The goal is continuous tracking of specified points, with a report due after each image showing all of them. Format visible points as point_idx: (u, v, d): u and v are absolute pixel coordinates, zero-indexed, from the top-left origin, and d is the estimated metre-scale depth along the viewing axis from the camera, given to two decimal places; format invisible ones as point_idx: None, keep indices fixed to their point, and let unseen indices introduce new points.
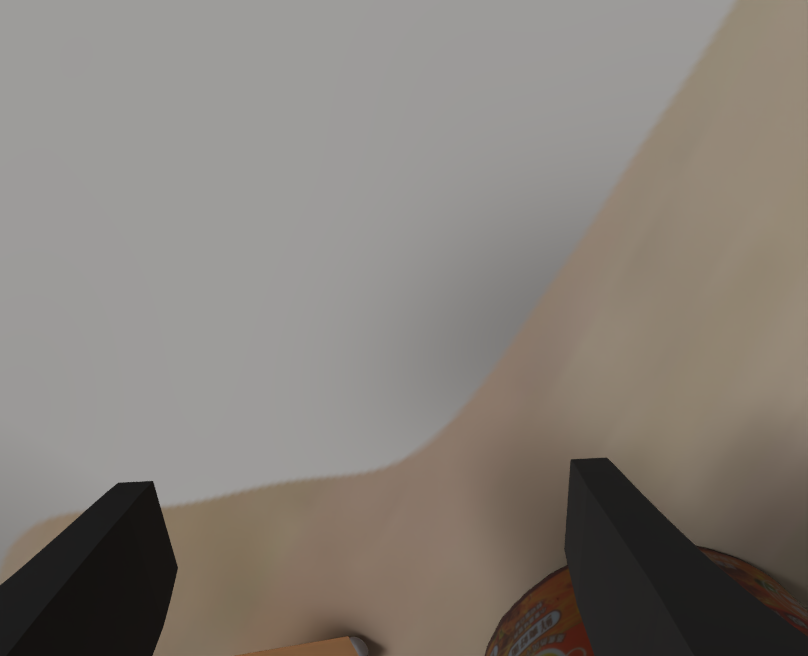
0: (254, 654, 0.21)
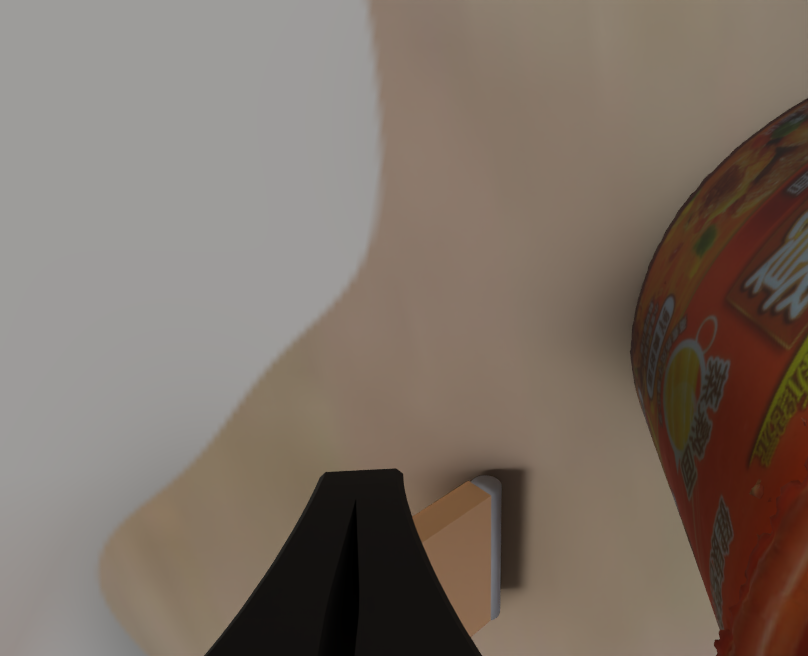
0: None
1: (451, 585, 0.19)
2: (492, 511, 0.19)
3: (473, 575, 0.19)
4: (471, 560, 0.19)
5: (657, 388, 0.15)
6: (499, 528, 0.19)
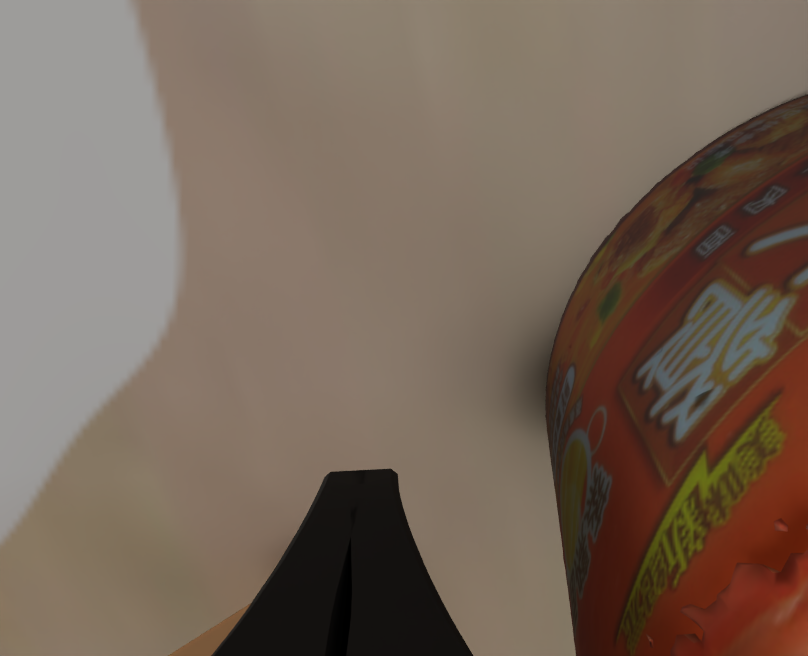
0: None
1: None
2: None
3: None
4: None
5: (557, 476, 0.12)
6: None
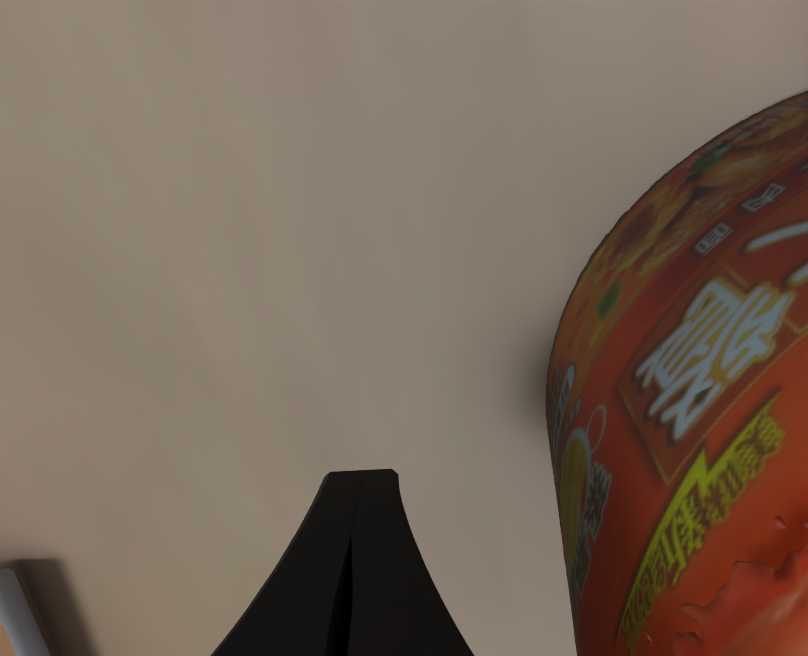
0: None
1: None
2: None
3: None
4: None
5: (557, 475, 0.12)
6: (21, 628, 0.17)
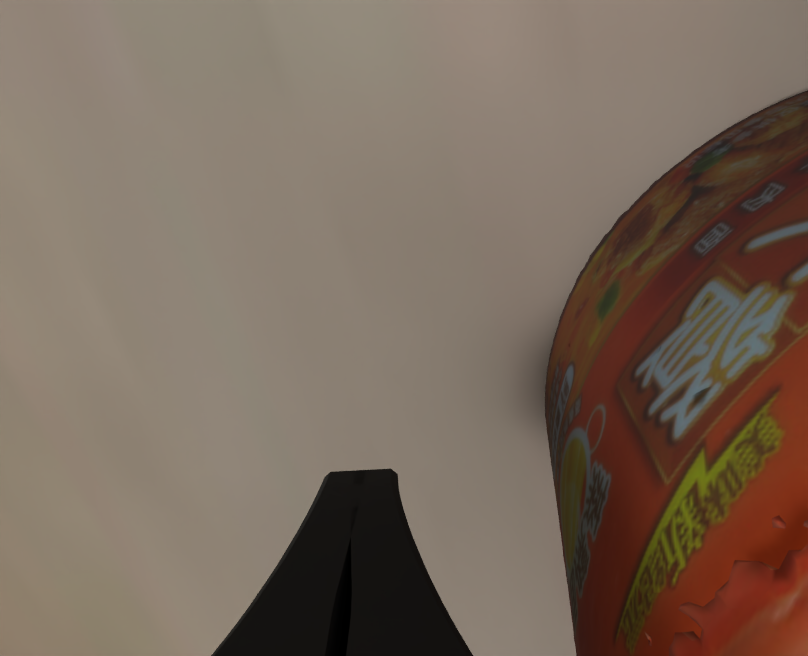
0: None
1: None
2: None
3: None
4: None
5: (557, 474, 0.12)
6: None
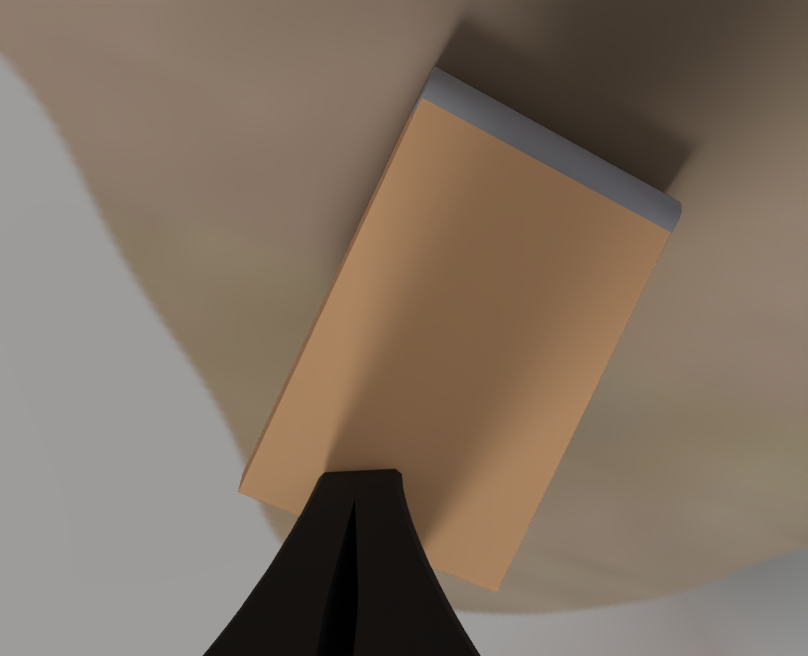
0: (307, 335, 0.12)
1: (499, 248, 0.11)
2: (455, 111, 0.11)
3: (534, 208, 0.11)
4: (500, 195, 0.11)
5: None
6: (505, 119, 0.11)
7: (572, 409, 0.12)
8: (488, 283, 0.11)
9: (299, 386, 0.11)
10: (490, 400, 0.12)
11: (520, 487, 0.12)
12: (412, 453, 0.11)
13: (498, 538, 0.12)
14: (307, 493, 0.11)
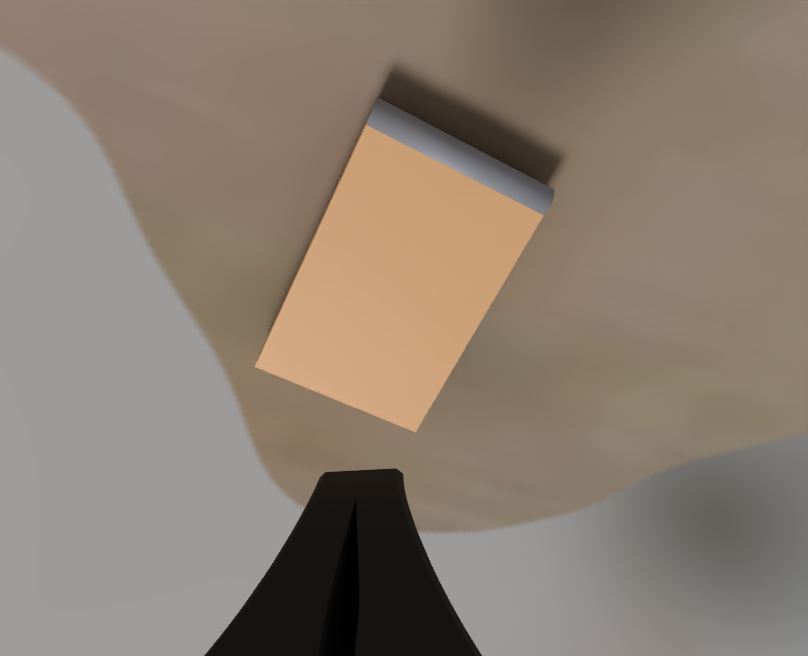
0: None
1: (420, 225, 0.17)
2: (389, 133, 0.16)
3: (445, 198, 0.17)
4: (420, 189, 0.16)
5: None
6: (424, 139, 0.16)
7: (468, 328, 0.18)
8: (411, 247, 0.17)
9: (289, 307, 0.18)
10: (412, 320, 0.18)
11: (432, 373, 0.19)
12: (361, 350, 0.18)
13: (417, 401, 0.19)
14: (296, 369, 0.18)
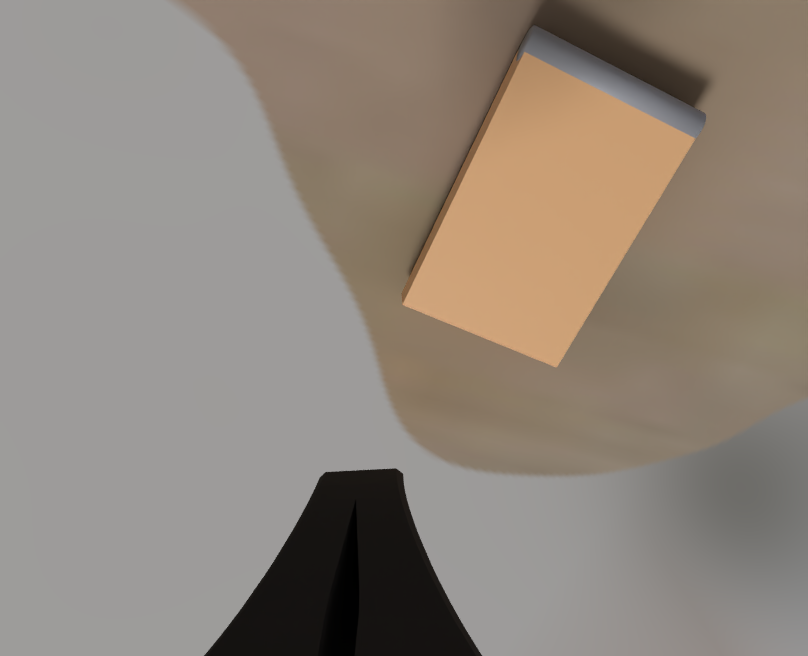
0: (443, 207, 0.18)
1: (572, 153, 0.17)
2: (546, 60, 0.16)
3: (598, 124, 0.17)
4: (574, 116, 0.17)
5: None
6: (581, 64, 0.16)
7: (614, 257, 0.18)
8: (563, 176, 0.17)
9: (439, 243, 0.18)
10: (560, 251, 0.18)
11: (576, 305, 0.19)
12: (508, 284, 0.18)
13: (560, 335, 0.19)
14: (443, 306, 0.19)
